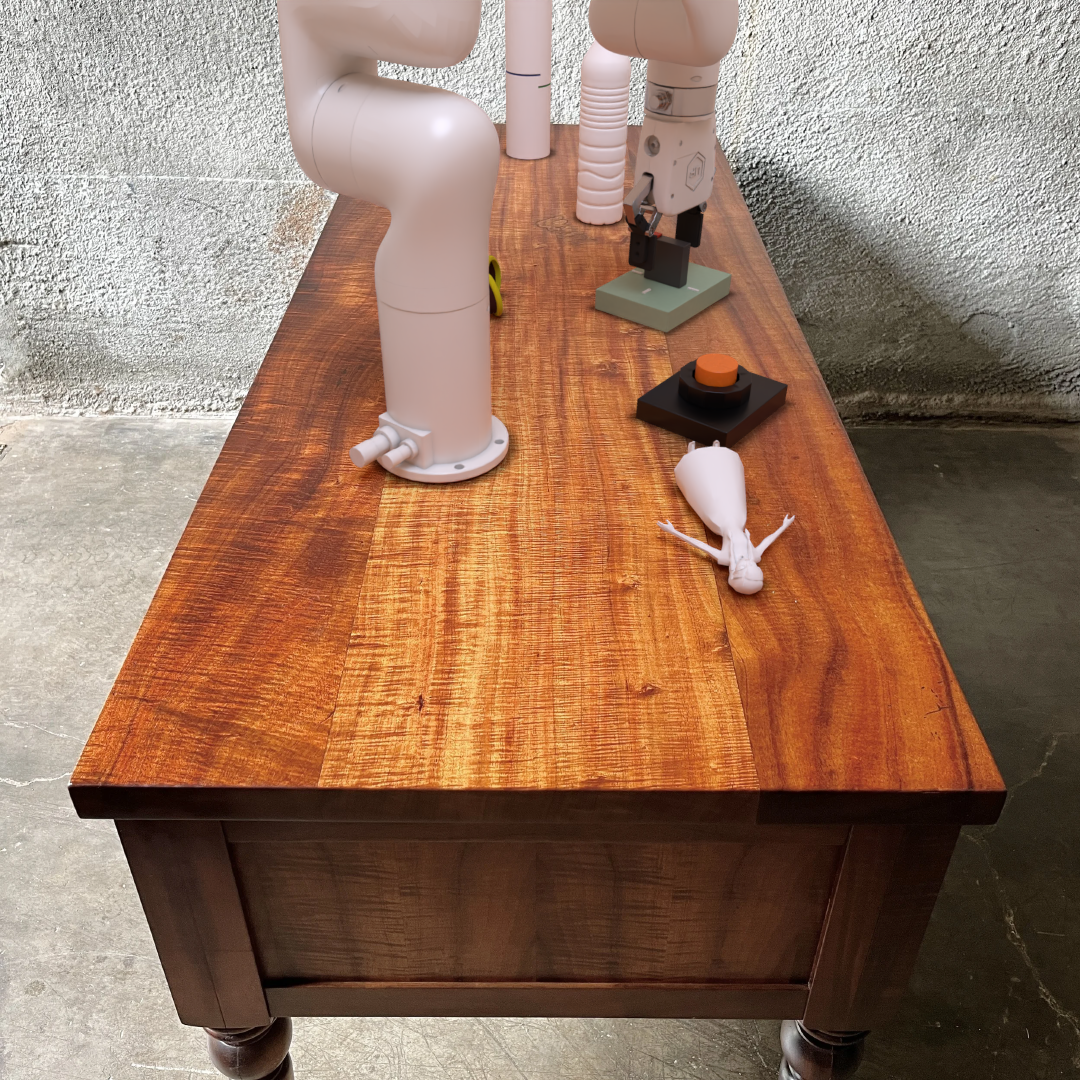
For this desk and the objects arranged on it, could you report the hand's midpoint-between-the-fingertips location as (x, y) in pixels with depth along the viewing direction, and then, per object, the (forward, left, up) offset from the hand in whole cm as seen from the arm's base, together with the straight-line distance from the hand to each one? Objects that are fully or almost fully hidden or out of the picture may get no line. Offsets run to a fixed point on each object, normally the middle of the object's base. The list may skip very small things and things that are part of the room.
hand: (664, 255), depth 120 cm
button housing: (-18, -18, -6) cm, 26 cm away
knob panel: (+1, 0, -6) cm, 6 cm away
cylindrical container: (+36, +49, -6) cm, 61 cm away
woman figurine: (-35, -29, -6) cm, 46 cm away
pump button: (-18, -18, -2) cm, 26 cm away
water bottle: (+20, +23, -6) cm, 31 cm away
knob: (+1, 0, -3) cm, 3 cm away
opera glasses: (-14, +16, -6) cm, 22 cm away
